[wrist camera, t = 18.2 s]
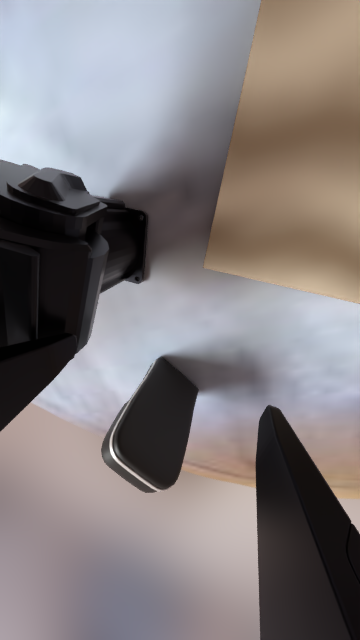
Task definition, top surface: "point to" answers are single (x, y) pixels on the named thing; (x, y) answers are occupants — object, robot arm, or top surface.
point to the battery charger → (152, 430)
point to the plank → (295, 154)
